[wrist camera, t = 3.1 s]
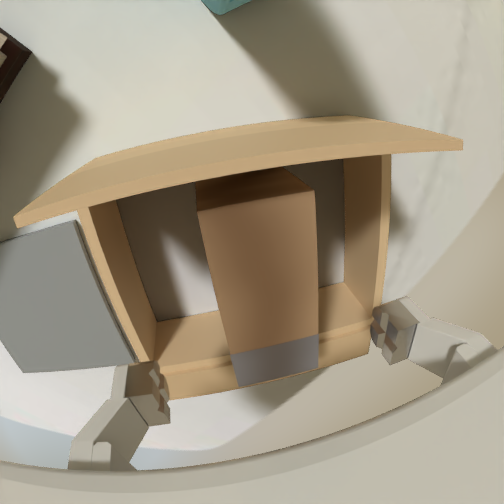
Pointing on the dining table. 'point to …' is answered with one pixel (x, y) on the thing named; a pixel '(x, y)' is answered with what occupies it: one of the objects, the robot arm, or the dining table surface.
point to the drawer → (226, 163)
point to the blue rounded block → (223, 5)
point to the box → (263, 269)
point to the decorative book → (10, 60)
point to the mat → (56, 305)
